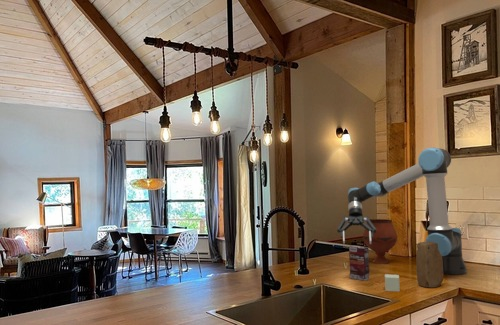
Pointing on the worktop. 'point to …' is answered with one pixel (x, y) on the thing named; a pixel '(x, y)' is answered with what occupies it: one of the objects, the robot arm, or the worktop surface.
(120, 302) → the worktop surface
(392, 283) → the sage cube
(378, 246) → the goblet
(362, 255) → the supplement box
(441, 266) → the block
